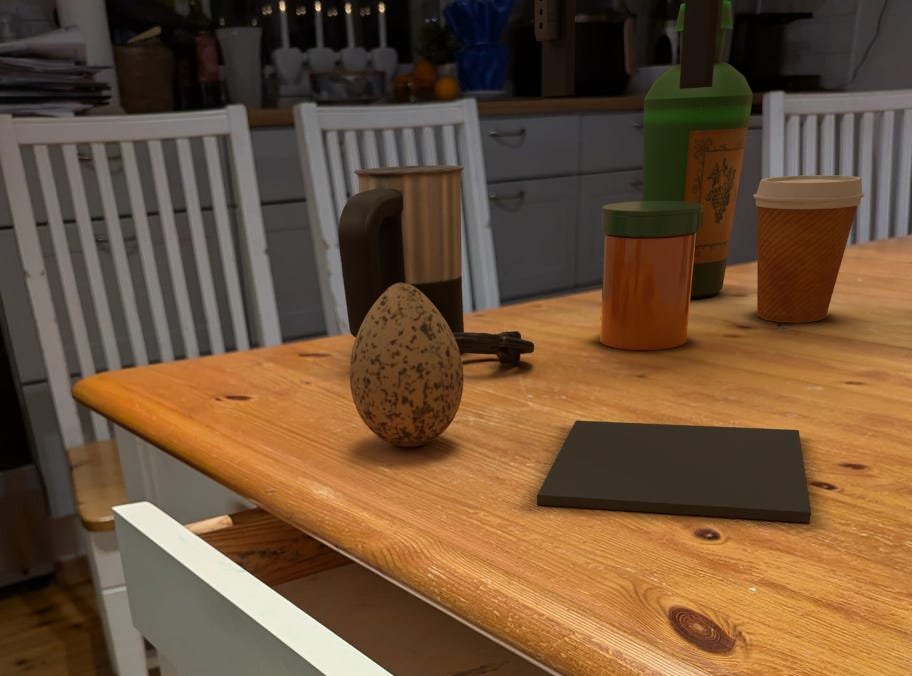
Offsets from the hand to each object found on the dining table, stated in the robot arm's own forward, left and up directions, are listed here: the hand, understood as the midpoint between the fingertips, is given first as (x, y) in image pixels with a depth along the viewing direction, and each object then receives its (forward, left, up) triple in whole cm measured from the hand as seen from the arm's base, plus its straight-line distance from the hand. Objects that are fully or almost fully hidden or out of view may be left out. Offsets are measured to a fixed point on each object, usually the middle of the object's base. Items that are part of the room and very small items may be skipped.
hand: (629, 92), depth 71 cm
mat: (-7, +27, -19) cm, 34 cm away
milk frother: (+14, +1, -20) cm, 24 cm away
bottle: (-4, -31, -20) cm, 37 cm away
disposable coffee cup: (-15, -19, -20) cm, 31 cm away
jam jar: (-2, -7, -19) cm, 21 cm away
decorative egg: (+10, +25, -20) cm, 34 cm away
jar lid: (-2, -7, -9) cm, 11 cm away
